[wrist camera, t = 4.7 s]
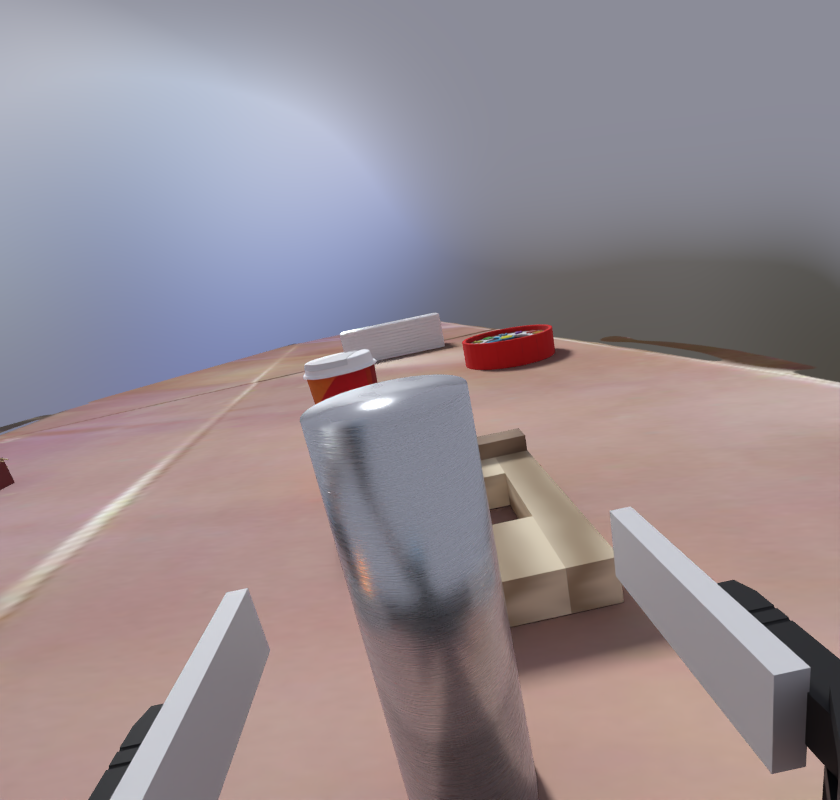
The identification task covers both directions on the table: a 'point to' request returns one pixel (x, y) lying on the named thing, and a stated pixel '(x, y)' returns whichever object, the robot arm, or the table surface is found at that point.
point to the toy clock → (509, 347)
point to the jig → (543, 538)
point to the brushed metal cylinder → (425, 582)
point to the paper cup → (339, 373)
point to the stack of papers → (396, 337)
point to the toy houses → (5, 475)
